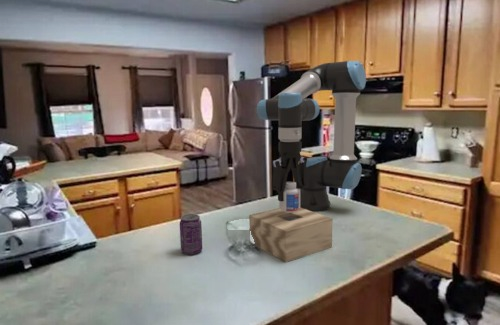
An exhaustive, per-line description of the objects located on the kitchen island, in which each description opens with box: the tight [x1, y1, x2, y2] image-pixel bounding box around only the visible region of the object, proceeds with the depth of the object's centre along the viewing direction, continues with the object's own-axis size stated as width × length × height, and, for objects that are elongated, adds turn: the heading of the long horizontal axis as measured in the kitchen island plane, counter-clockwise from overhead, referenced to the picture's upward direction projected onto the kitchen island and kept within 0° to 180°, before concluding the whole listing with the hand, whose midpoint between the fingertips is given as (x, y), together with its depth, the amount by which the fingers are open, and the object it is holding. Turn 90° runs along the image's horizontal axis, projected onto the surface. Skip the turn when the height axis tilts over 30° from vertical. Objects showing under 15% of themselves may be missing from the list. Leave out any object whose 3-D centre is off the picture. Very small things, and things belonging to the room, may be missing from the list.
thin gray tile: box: [282, 216, 298, 221], centre depth 123 cm, size 6×6×1 cm
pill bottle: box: [283, 181, 298, 213], centre depth 121 cm, size 6×5×10 cm
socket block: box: [248, 207, 334, 263], centre depth 124 cm, size 20×20×10 cm
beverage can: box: [179, 213, 203, 256], centre depth 119 cm, size 7×7×12 cm
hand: (289, 208), depth 122 cm, fingers closed on pill bottle, 5 cm apart
